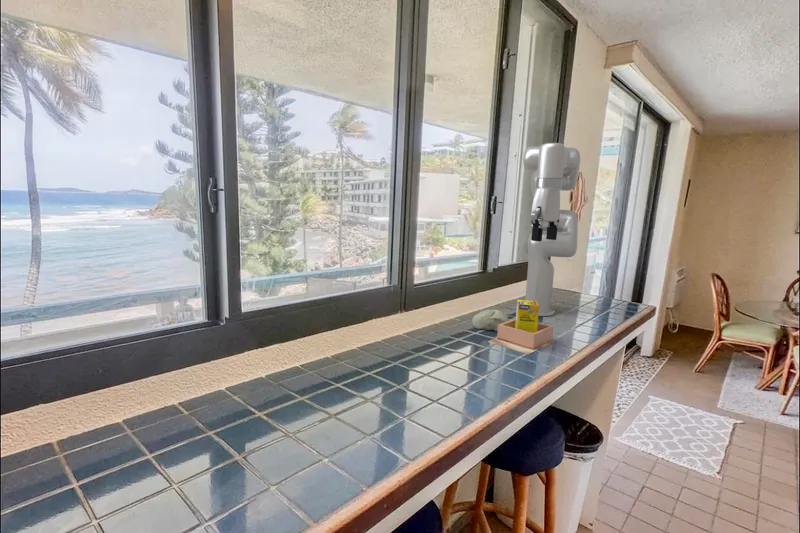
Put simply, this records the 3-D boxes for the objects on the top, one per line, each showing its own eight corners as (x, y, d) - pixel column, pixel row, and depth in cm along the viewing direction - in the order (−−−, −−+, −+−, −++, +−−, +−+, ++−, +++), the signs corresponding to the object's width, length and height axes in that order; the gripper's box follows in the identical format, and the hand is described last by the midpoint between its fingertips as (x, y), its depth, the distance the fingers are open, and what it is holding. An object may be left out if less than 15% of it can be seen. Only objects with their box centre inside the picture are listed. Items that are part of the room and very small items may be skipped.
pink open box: (517, 331, 130) (518, 317, 129) (551, 341, 121) (553, 326, 121) (497, 339, 122) (498, 324, 121) (532, 350, 113) (534, 334, 113)
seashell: (468, 309, 131) (483, 300, 138) (466, 331, 133) (480, 321, 141) (506, 321, 123) (519, 310, 131) (503, 344, 126) (516, 333, 133)
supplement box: (536, 342, 118) (539, 305, 116) (515, 340, 119) (518, 304, 118) (534, 335, 124) (537, 300, 122) (514, 333, 125) (516, 299, 123)
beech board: (515, 334, 130) (515, 330, 130) (554, 345, 121) (554, 341, 121) (486, 345, 119) (487, 341, 119) (527, 358, 110) (527, 354, 110)
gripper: (550, 186, 134) (545, 238, 136) (523, 183, 122) (519, 240, 125) (572, 186, 128) (567, 240, 131) (547, 183, 116) (542, 242, 119)
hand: (544, 240), depth 128 cm, fingers open, 9 cm apart
